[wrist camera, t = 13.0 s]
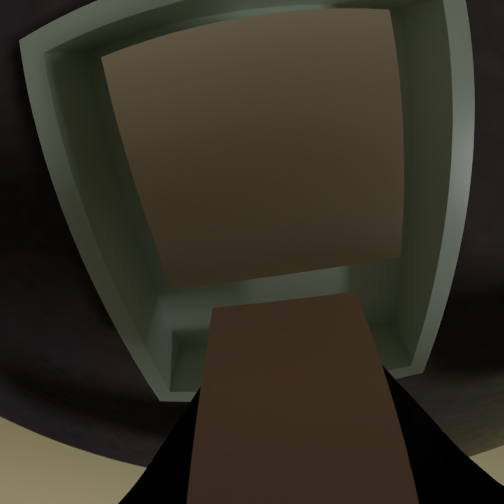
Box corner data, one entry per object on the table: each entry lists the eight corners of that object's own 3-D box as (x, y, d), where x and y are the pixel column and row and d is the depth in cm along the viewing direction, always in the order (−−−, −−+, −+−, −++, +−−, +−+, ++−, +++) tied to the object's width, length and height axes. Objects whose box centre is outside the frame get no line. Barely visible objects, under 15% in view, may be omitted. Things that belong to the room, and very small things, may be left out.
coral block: (348, 376, 11) (376, 533, 6) (237, 387, 11) (230, 547, 6) (355, 290, 9) (419, 504, 4) (212, 307, 9) (183, 528, 4)
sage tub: (400, 320, 15) (423, 372, 12) (172, 346, 16) (159, 400, 13) (408, -6, 7) (460, -23, 4) (76, 41, 8) (19, 40, 6)
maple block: (330, 159, 10) (399, 257, 5) (211, 177, 11) (172, 289, 6) (314, 41, 8) (389, 9, 3) (186, 62, 9) (101, 57, 4)
